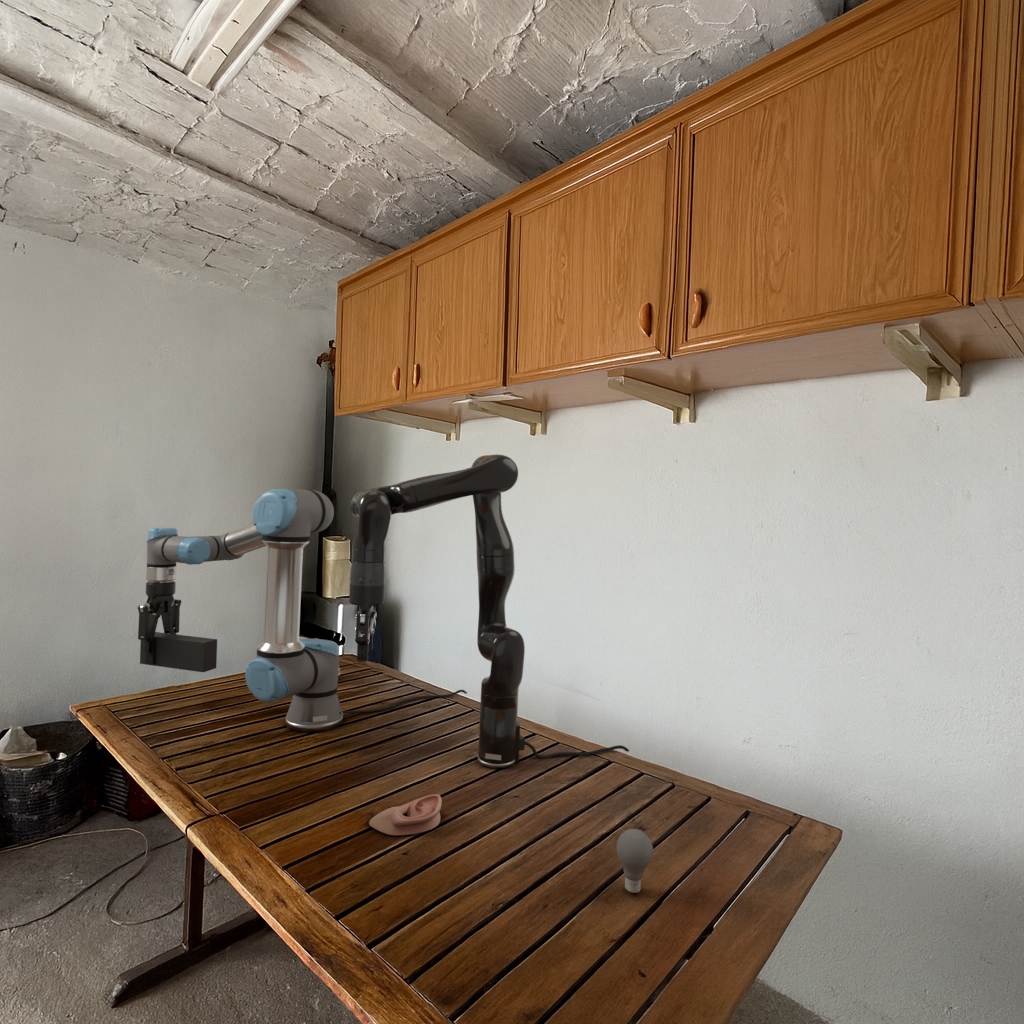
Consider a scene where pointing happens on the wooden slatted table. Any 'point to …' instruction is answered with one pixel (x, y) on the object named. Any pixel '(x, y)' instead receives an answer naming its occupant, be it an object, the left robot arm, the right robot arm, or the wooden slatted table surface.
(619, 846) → the light bulb
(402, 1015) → the wooden slatted table surface
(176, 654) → the bar
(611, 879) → the wooden slatted table surface
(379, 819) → the anatomical model
